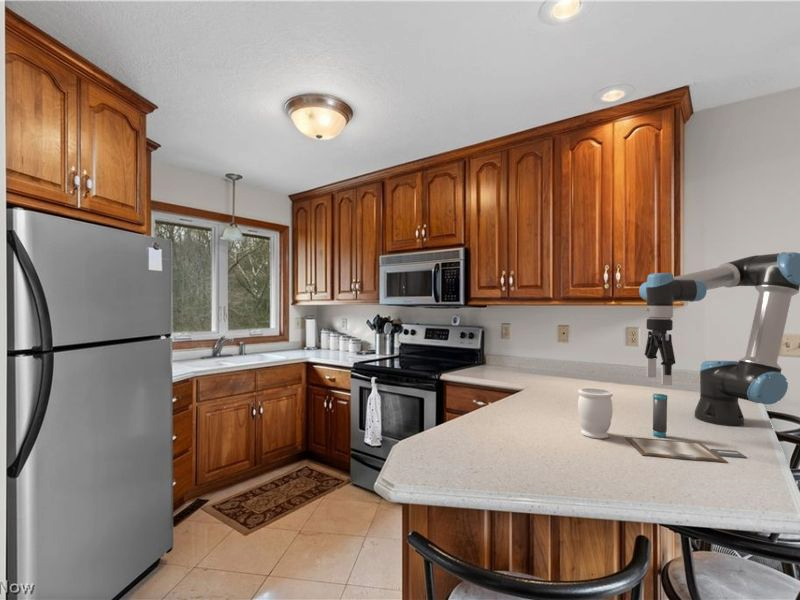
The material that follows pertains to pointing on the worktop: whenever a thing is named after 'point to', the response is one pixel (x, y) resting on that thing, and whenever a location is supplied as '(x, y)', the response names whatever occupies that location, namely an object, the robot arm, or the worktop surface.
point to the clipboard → (674, 449)
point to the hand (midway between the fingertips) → (658, 380)
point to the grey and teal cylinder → (660, 415)
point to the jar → (595, 412)
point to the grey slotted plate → (728, 453)
